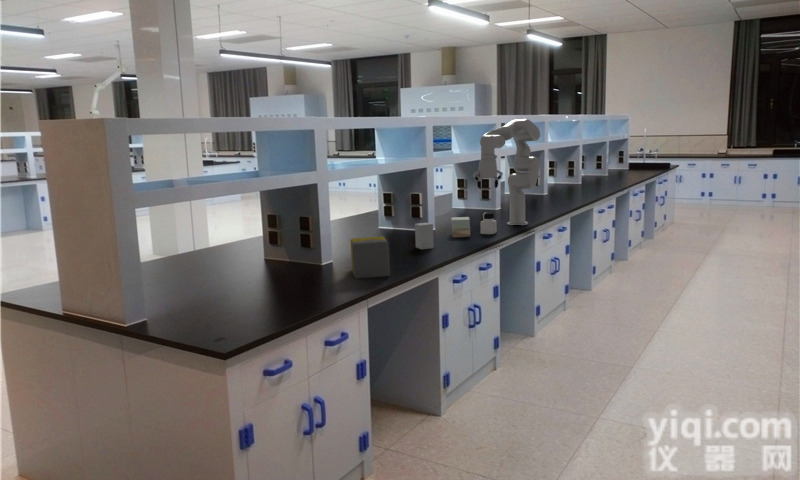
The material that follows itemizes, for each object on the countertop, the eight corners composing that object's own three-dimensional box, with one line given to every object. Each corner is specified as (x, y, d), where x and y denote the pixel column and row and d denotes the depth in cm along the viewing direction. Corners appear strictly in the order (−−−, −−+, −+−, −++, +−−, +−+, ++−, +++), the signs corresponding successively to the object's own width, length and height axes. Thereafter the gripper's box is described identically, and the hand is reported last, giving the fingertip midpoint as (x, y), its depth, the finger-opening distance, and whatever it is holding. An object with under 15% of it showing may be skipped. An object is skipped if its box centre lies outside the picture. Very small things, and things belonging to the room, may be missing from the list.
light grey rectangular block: (496, 232, 353) (496, 212, 351) (491, 234, 348) (491, 213, 345) (485, 231, 357) (485, 211, 355) (480, 233, 351) (480, 213, 349)
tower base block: (452, 234, 355) (451, 225, 354) (469, 233, 354) (469, 225, 353) (452, 237, 345) (452, 228, 344) (470, 237, 344) (470, 228, 343)
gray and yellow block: (382, 264, 282) (381, 232, 279) (390, 276, 258) (388, 241, 256) (350, 267, 280) (348, 234, 277) (355, 279, 256) (353, 244, 254)
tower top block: (451, 225, 354) (451, 217, 353) (468, 225, 353) (468, 216, 352) (452, 228, 344) (451, 220, 343) (469, 228, 344) (469, 219, 343)
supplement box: (434, 248, 316) (433, 224, 313) (421, 249, 313) (420, 225, 311) (428, 245, 322) (427, 222, 320) (415, 247, 320) (414, 223, 317)
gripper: (500, 157, 350) (500, 187, 352) (471, 157, 347) (471, 188, 350) (504, 157, 342) (504, 187, 345) (474, 158, 340) (474, 188, 343)
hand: (487, 187), depth 347 cm, fingers open, 9 cm apart
